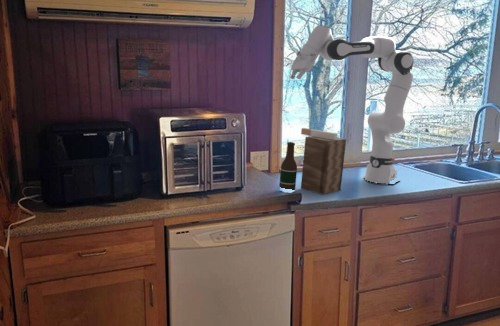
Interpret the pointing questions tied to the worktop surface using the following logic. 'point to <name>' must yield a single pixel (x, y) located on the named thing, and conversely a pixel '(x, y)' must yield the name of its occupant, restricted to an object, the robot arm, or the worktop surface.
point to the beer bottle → (288, 169)
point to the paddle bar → (319, 133)
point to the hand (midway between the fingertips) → (294, 78)
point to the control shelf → (323, 164)
